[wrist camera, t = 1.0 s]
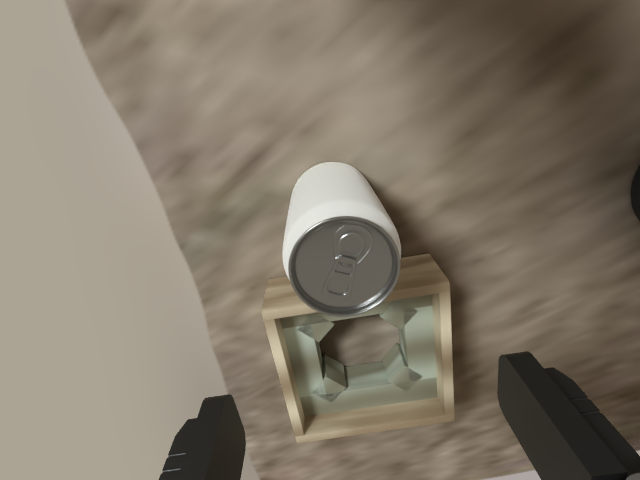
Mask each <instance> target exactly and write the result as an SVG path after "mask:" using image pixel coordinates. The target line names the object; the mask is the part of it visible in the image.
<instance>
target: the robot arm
mask: <svg viewBox="0 0 640 480" xmlns="http://www.w3.org/2000/svg"><path fill="white" fill-rule="evenodd" d="M498 400H499V404H500V407H501V410H502V412H503V415H504V416H505V418H506V420H507V422H508V423H509V425H510V427H511V429H512V430H513V432H514V434H515V435H516V437H517V439H518V441H519V442H520V444H521V446H522V447H523V449H524V451H525V453H526V454H527V456H528V458H529V459H530V461H531V463H532V465H533V466H534V468H535V470H536V471H537V473H538V475H539V476H540V478H541V480H640V456H639V455H638V454H637V452H636V451H635V450H634V449H633V448H632V447H631V446H630V444H629V443H628V442H627V441H626V440H625V439H624V438H623V437H622V435H621V434H620V433H619V432H618V431H617V430H616V429H615V427H614V426H613V425H612V424H611V423H610V422H609V421H608V420H607V418H606V417H605V416H604V415H603V414H601V413H600V412H599V409H598V408H597V407H596V406H595V405H594V404H593V402H592V401H591V400H588V398H587V396H586V395H585V393H584V392H583V391H582V390H581V389H580V388H579V387H578V385H577V384H576V383H575V382H574V381H573V380H572V379H570V378H569V377H567V376H566V375H564V374H563V373H561V372H559V371H558V370H556V369H555V368H553V367H552V368H545V369H544V368H543V367H542V366H541V365H540V364H539V362H538V361H537V360H536V359H535V357H534V356H533V355H532V354H531V353H530V352H527V351H526V352H520V353H513V354H506V355H501V356H500V357H499V369H498ZM245 446H246V441H245V432H244V428H243V425H242V422H241V419H240V416H239V413H238V411H237V408H236V405H235V402H234V399H233V397H232V395H230V394H229V395H223V396H215V397H208V398H205V399H204V400H203V402H202V405H201V408H200V412H199V414H198V417H197V418H195V419H188V420H187V422H186V423H185V424H184V425H183V427H182V428H181V429H180V431H179V432H178V433H177V435H176V436H175V438H174V441H173V443H172V446H171V449H170V451H169V454H168V455H169V457H168V458H167V459H166V462H165V465H164V467H163V473H162V474H161V475H160V478H159V480H240V478H241V472H242V467H243V461H244V455H245Z"/></svg>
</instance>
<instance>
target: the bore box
mask: <svg viewBox="0 0 640 480" xmlns="http://www.w3.org/2000/svg"><path fill="white" fill-rule="evenodd" d="M261 312H262V316H263V320H264V324H265V327H266V331H267V335H268V338H269V342H270V346H271V349H272V353H273V357H274V360H275V364H276V368H277V371H278V375H279V379H280V382H281V386H282V390H283V393H284V397H285V401H286V405H287V408H288V412H289V416H290V419H291V423H292V427H293V430H294V434H295V438H296V441H297V443H301V442H308V441H315V440H322V439H329V438H336V437H343V436H351V435H358V434H365V433H372V432H379V431H386V430H393V429H400V428H407V427H414V426H421V425H428V424H435V423H442V422H449V421H455V417H454V389H453V360H452V332H451V303H450V282H449V280H448V279H447V277H446V276H445V275H444V273H443V272H442V270H441V269H440V268H439V266H438V265H437V264H436V262H435V261H434V259H433V258H432V257H431V255H430V254H429V253H428V254H422V255H416V256H409V257H403V258H401V260H400V274H399V278H398V281H397V283H396V285H395V287H394V289H393V291H392V292H391V294H390V295H389V296H388V297H387V298H386V299H385V300H384V301H383V302H382V303H381V304H380V305H378V306H377V307H375V308H374V309H372V310H370V311H368V312H365V313H363V314H359V315H355V316H349V317H335V316H329V315H325V314H322V313H320V312H317V311H315V310H313V309H312V308H310V307H309V306H307V305H306V304H305V303H304V302H303V301H302V300H301V299H300V298H299V297H298V296H297V294H296V293H295V291H294V289H293V287H292V285H291V282H290V280H289V278H288V276H285V277H279V278H273V279H268V283H267V288H266V292H265V297H264V302H263V306H262V311H261ZM375 314H380V317H381V318H382V319H384V320H386V321H387V322H389V323H391V324H392V325H394V326H395V327H397V328H399V334H400V344H401V345H399V344H396V345H395V346H394V347H393V348H392V349H391V350H390V351H389V352H388V353H387V354H386V355H385V356H384V357H383V358H382V360H383V361H381V362H374V363H368V364H361V365H354V366H348V367H344V366H343V364H342V363H340V362H338V361H336V360H335V359H333V358H331V357H329V356H327V355H326V354H325V355H324V356H323V357H322V355H321V350H320V345H319V342H320V341H321V339H322V338H323V337H324V336H325V335H326V334H327V332H328V331H329V330H330V329H331V328H332V327H333V325H334V321H336V320H343V319H349V318H356V317H362V316H369V315H375Z"/></svg>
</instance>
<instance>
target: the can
mask: <svg viewBox="0 0 640 480" xmlns="http://www.w3.org/2000/svg"><path fill="white" fill-rule="evenodd" d="M400 260H401V244H400V239H399V236H398V233H397V230H396V228H395V226H394V224H393V222H392V220H391V219H390V217H389V215H388V214H387V212H386V210H385V209H384V207H383V205H382V204H381V202H380V200H379V199H378V197H377V195H376V194H375V192H374V191H373V189H372V187H371V186H370V184H369V183H368V181H367V180H366V178H365V177H364V176H363V175H362V174H361V173H360V172H359V171H358V170H357V169H355V168H354V167H352V166H350V165H347V164H344V163H338V162H326V163H321V164H318V165H316V166H314V167H312V168H310V169H309V170H307V171H306V172H305V173H304V174H303V175H302V176H301V177H300V178H299V179H298V181H297V183H296V184H295V186H294V189H293V192H292V196H291V201H290V206H289V212H288V217H287V223H286V229H285V235H284V242H283V264H284V268H285V272H286V274H287V276H288V278H289V280H290V282H291V285H292V287H293V289H294V291H295V293H296V294H297V296H298V297H299V298H300V299H301V300H302V301H303V302H304V303H305V304H306V305H307V306H309V307H310V308H312V309H313V310H315V311H317V312H320V313H322V314H325V315H329V316H335V317H349V316H355V315H359V314H363V313H365V312H368V311H370V310H372V309H374V308H375V307H377V306H378V305H380V304H381V303H382V302H383V301H384V300H385V299H386V298H387V297H388V296H389V295H390V294H391V292H392V291H393V289H394V287H395V285H396V283H397V281H398V278H399V274H400Z"/></svg>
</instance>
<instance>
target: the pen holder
mask: <svg viewBox="0 0 640 480" xmlns="http://www.w3.org/2000/svg"><path fill="white" fill-rule="evenodd" d="M631 199H632V205H633V209H634V211H635V213H636V215H637V216H638V218H639V219H640V166H639V168H638V170H637V172H636V174H635V177H634V180H633V183H632V189H631Z"/></svg>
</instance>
